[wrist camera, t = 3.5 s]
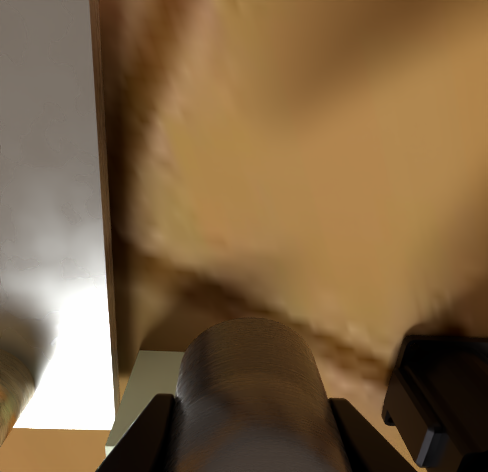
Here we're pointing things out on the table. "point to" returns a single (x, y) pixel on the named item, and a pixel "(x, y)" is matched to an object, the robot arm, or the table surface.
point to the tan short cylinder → (13, 391)
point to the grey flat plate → (56, 213)
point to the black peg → (252, 404)
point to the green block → (144, 388)
